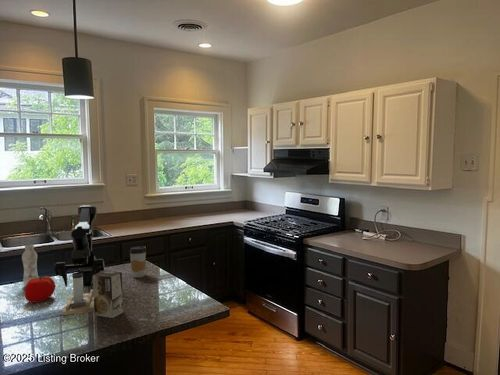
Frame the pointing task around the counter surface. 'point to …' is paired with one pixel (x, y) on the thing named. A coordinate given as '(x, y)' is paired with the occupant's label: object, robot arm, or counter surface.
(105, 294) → the coffee box
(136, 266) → the coffee cup
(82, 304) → the fader knob
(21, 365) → the counter surface
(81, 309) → the fader track
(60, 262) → the robot arm
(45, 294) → the tomato
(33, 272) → the plastic bottle
